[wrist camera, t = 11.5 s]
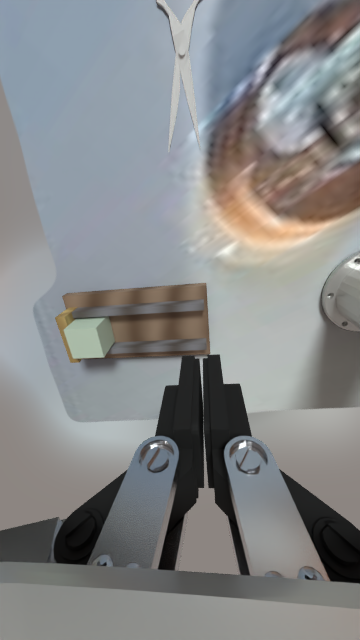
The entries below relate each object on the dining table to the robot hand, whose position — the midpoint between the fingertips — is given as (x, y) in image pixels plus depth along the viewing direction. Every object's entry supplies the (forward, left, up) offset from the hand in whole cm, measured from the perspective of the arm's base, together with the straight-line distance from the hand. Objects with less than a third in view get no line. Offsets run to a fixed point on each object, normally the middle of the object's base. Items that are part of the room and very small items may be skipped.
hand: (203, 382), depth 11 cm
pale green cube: (+18, +9, -25) cm, 32 cm away
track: (+11, +9, -27) cm, 31 cm away
